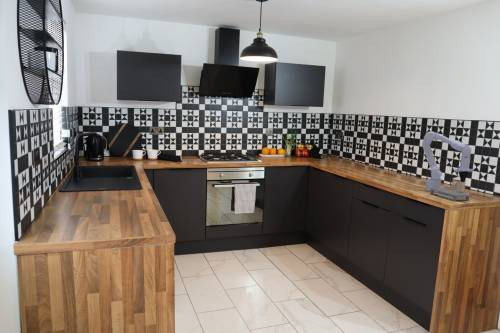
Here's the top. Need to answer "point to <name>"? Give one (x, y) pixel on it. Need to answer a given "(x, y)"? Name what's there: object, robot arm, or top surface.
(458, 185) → the teacup with lid
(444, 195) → the tray
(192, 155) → the top surface
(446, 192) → the shelf
